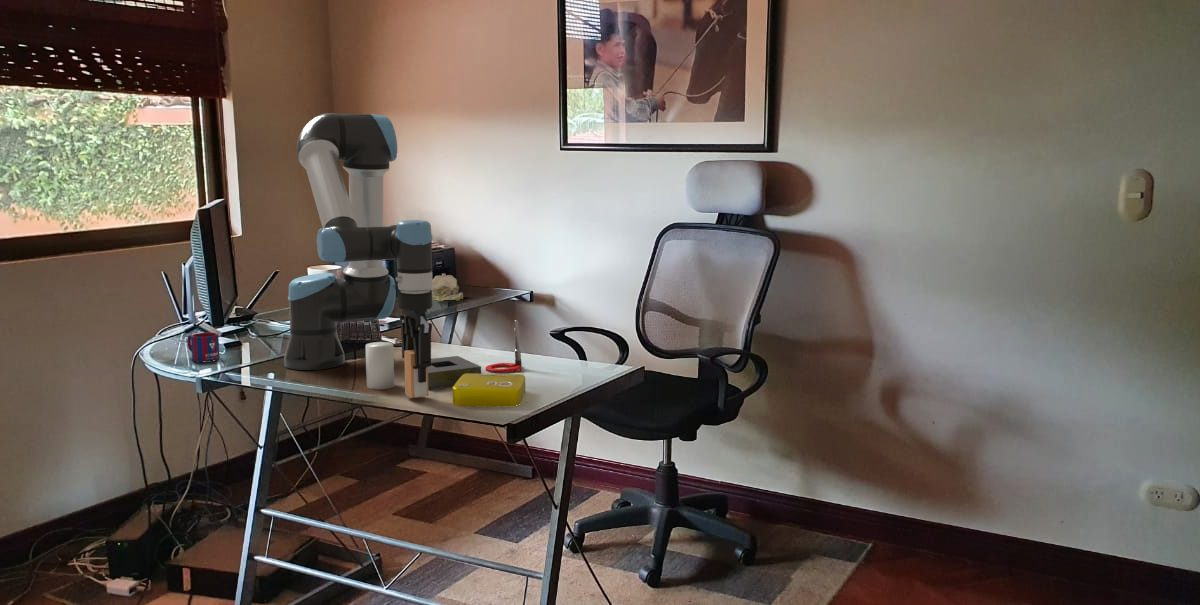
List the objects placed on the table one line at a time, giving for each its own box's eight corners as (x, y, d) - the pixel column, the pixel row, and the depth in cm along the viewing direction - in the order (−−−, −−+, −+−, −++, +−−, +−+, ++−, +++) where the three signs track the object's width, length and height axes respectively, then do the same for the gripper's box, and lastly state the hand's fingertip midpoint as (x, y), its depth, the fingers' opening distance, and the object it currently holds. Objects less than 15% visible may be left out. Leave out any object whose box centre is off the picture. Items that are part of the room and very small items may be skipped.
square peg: (405, 393, 209) (404, 350, 207) (421, 391, 211) (421, 348, 209) (411, 398, 205) (410, 354, 204) (428, 395, 207) (427, 352, 206)
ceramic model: (426, 301, 349) (425, 275, 347) (426, 297, 360) (425, 271, 358) (463, 301, 351) (463, 275, 350) (462, 296, 362) (462, 271, 360)
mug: (201, 363, 241) (200, 338, 240) (180, 358, 247) (178, 333, 246) (224, 359, 247) (223, 334, 245) (203, 354, 252) (202, 330, 251)
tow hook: (485, 375, 233) (521, 373, 234) (482, 325, 231) (519, 323, 232) (486, 368, 242) (521, 366, 242) (483, 319, 240) (519, 317, 240)
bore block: (405, 377, 228) (404, 361, 227) (457, 371, 235) (457, 355, 235) (426, 389, 216) (426, 373, 216) (481, 382, 224) (481, 366, 223)
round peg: (363, 384, 221) (361, 343, 219) (389, 381, 224) (387, 341, 222) (371, 390, 215) (370, 348, 214) (398, 387, 219) (397, 345, 217)
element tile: (526, 391, 217) (526, 371, 217) (519, 408, 202) (519, 387, 202) (462, 390, 218) (462, 370, 217) (451, 407, 203) (450, 386, 202)
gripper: (385, 286, 209) (387, 387, 213) (412, 297, 195) (414, 404, 199) (416, 284, 213) (418, 383, 217) (446, 295, 199) (447, 400, 203)
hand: (416, 393), depth 208 cm, fingers closed on square peg, 4 cm apart
